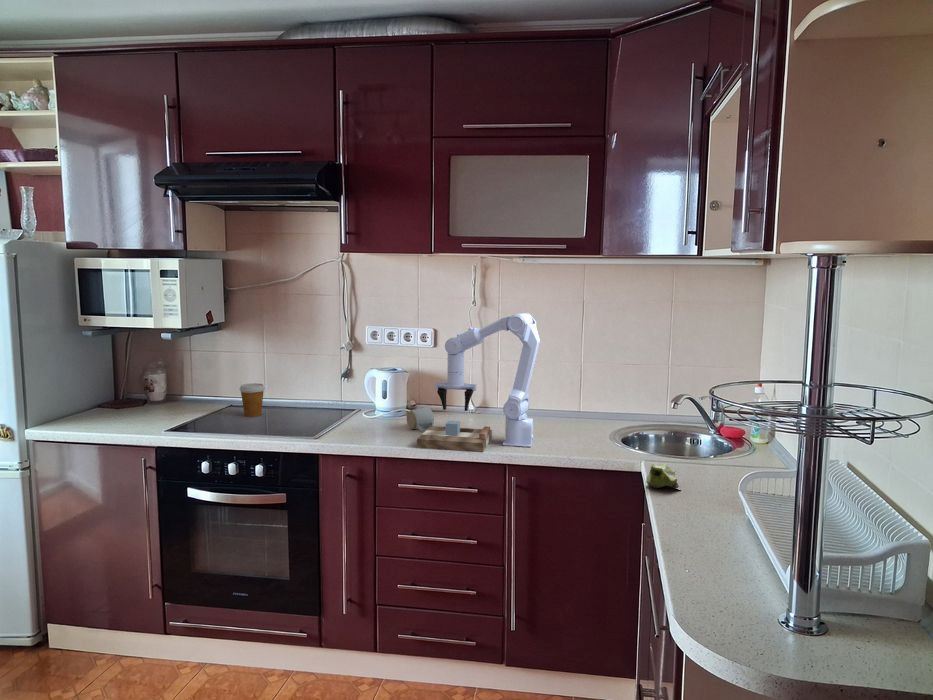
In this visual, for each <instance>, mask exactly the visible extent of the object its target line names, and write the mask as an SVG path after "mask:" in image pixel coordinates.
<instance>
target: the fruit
mask: <svg viewBox="0 0 933 700" xmlns="http://www.w3.org/2000/svg"><path fill="white" fill-rule="evenodd" d="M676 472H677V471H676V470H671V466H669V465H668V463H665V462H664V463H661V462H658V463H656V462H654V463H652V464H651V465H650V469H649V473H648V475H647V476H646V481H645V483H646V484H647V485H648V486H649V487H650V488H653V487H654V488H653V489H656V488H658V489H657V490H660V488H663V487H670V488H673V489H674V490H676V488H678V487H680V486H679V484H678V477H677V476H676Z"/></svg>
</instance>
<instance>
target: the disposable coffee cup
mask: <svg viewBox="0 0 933 700" xmlns="http://www.w3.org/2000/svg"><path fill="white" fill-rule="evenodd" d="M265 388H266V387H265V385H264V384H263V383H256V382H255V383H252V382H251V383H245V384H241V385H240V388H239V392H240V394H241V402H242V407H243V412H244V413H243V414H244V416H245V417H249V418H253V417H259V416H261V415H262V411H263V400H264V391H265Z"/></svg>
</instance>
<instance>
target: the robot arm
mask: <svg viewBox="0 0 933 700" xmlns="http://www.w3.org/2000/svg"><path fill="white" fill-rule="evenodd" d="M501 331H506V332H508V331H510V333H512V334H513V335H515V336H516V337H517V338H518V339H519V341H521V344H522V349H521V353H520V357H519V362H518V365H517V370H516V375H515V378H514V381H513V386H512V389H511V391H510V394H509V395H508V398H507V400H506V402H505V403H504V405H503V407H502V409H503V414H504V415H505V434H504V435H505V436H504V437H505V438H504V440H503V443H502V446H510V447H527V448H530V447H532V446H533V442H534V419H533V418H532V417H531V418H530V417H528V415H527V412H528V411H529V409H530V401H529V399H530V393H529V388H530V383H531V381H532V377H533V376H532V375H533V371H534V368H535V363H536V360H537V356H538V351H539V347H540V342H541V339H540V335H539V333H538V327H537V321H536V320H535V319H534V317H533V316H532V315H531V314H530V313H529V312H521V313H515V314H514V313H513V314H511V315H509V316H505V317H501V318H499V319H497V320H496V321H494V322H491V323H490V324H488V325H486V326H484V327H482V328H478V327H474V328H473V327H469V328H467V331H465V332H463V333H457V334H456V336H455V337H450V338H449V339H447V340H446V341H445V344H444V349H445V351H446V353H447V370H446V371H447V382H435V383H434V390H437V392H436V393H437V395H438V396H439V398H440V401H441V405H442V410H443V411H446V410H447V394H448V392H447V391H448V390H454V391H455V390H458V391H464V411H465V412H468V409H469V406H470V405H469V404H470V401H471V398H472V396H473V394H474V392H476V391H477V384H475V383H466V382H465V377H464V376H465V352H466V350H469V349H471V348H473V347H476V346H479V345H480V344H482V343H483V341H484V339H485V338H486V337H488V336H491V335H494V334H496V333H498V332H501Z"/></svg>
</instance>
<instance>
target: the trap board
mask: <svg viewBox="0 0 933 700" xmlns="http://www.w3.org/2000/svg"><path fill="white" fill-rule="evenodd" d="M426 429H427V430H426V431H425V432H422V434H421V435H420V436H419V437H417V439H416V447H417V449H429V450H430V449H432V450H443V451H444V450H445V451H460V452H475V453H477V452H478V453H484V452H485V450H486V448H487V447H488V445H489V444H490V442H491V440H492V439H493V429H491V426H484V427H482V428H469V427H460V433H459V434H458V436H452V435H446V426H435V425H433V426H430V427H429V428H426ZM491 438H492V439H491ZM488 443H489V444H488Z"/></svg>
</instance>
